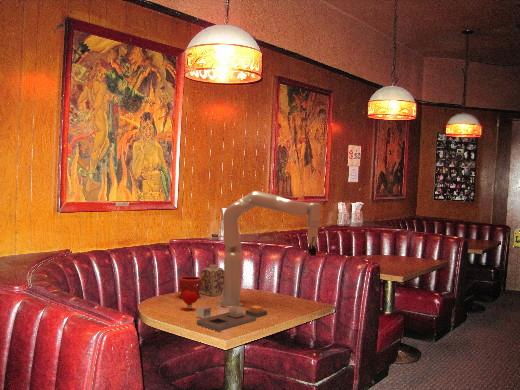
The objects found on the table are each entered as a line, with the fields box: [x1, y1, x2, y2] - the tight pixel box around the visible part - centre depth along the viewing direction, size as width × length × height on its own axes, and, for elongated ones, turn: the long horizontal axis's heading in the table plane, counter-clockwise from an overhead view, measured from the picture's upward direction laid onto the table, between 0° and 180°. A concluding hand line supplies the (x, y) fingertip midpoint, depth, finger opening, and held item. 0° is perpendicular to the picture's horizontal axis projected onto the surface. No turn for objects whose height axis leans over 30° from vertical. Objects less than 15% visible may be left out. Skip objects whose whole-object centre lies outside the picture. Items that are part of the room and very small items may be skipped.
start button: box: [250, 305, 263, 312], centre depth 272 cm, size 4×4×2 cm
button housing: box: [245, 309, 268, 318], centre depth 272 cm, size 8×8×3 cm
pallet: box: [196, 311, 257, 333], centre depth 256 cm, size 16×26×2 cm, turn 139°
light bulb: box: [181, 291, 199, 310], centre depth 281 cm, size 9×7×10 cm
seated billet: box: [228, 306, 244, 319], centre depth 261 cm, size 5×5×6 cm
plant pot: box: [179, 275, 201, 298], centre depth 308 cm, size 13×13×12 cm
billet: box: [196, 305, 212, 319], centre depth 263 cm, size 5×5×6 cm
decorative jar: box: [199, 264, 224, 297], centre depth 319 cm, size 12×12×18 cm
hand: (312, 254), depth 290 cm, fingers open, 9 cm apart
